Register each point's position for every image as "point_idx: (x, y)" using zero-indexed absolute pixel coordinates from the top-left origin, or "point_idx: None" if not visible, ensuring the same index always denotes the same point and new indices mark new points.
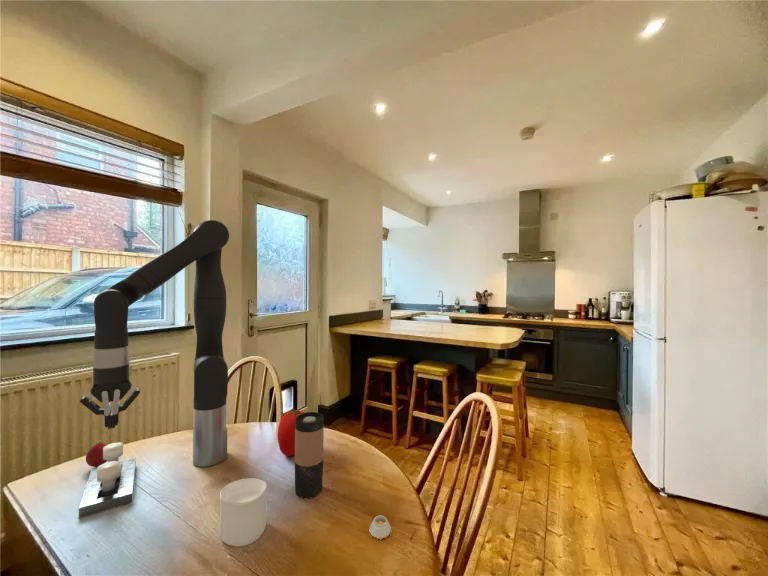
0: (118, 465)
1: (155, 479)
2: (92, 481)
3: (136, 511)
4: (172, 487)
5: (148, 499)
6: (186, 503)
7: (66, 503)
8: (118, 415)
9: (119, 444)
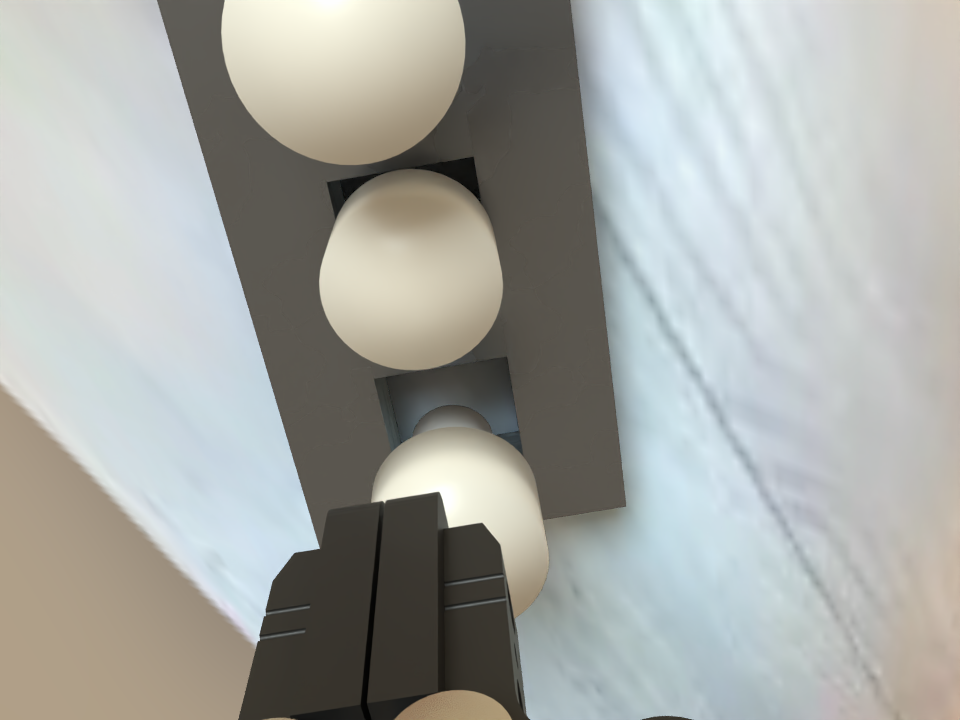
0: (545, 573)
1: (744, 202)
2: (257, 200)
3: (652, 563)
4: (863, 381)
5: (710, 467)
6: (925, 589)
7: (154, 300)
8: (515, 682)
9: (416, 16)
